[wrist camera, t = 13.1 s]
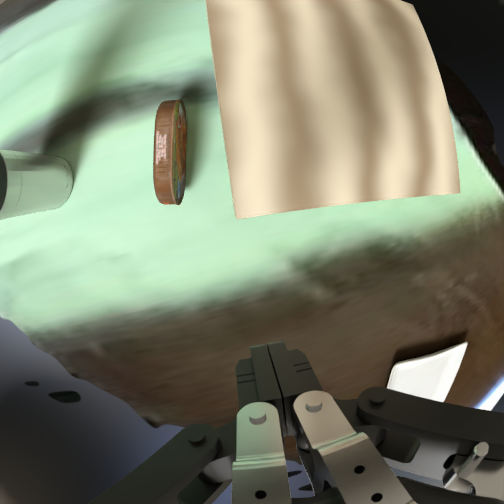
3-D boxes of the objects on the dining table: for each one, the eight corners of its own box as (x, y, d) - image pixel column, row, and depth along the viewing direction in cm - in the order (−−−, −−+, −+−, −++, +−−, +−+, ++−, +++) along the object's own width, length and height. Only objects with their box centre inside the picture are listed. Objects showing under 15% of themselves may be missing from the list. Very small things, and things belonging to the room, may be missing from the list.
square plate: (431, 408, 61) (437, 415, 57) (359, 433, 58) (364, 442, 55) (461, 336, 55) (470, 342, 51) (387, 356, 52) (395, 365, 49)
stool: (229, 204, 41) (236, 219, 21) (209, 62, 36) (203, -19, 15) (370, 187, 43) (460, 193, 23) (347, 59, 37) (412, 4, 17)
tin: (185, 203, 41) (176, 206, 32) (165, 203, 40) (151, 207, 32) (188, 108, 37) (180, 90, 29) (168, 109, 37) (156, 92, 29)
